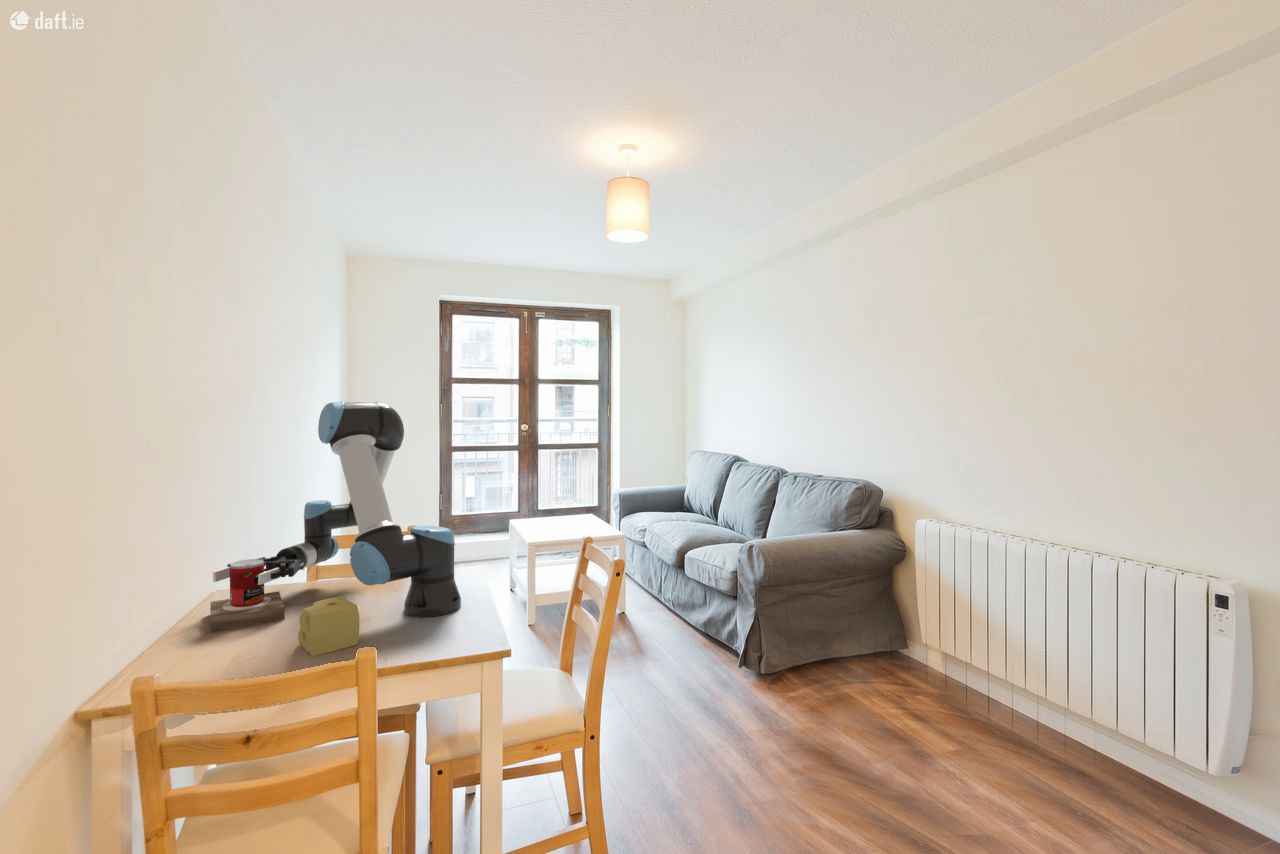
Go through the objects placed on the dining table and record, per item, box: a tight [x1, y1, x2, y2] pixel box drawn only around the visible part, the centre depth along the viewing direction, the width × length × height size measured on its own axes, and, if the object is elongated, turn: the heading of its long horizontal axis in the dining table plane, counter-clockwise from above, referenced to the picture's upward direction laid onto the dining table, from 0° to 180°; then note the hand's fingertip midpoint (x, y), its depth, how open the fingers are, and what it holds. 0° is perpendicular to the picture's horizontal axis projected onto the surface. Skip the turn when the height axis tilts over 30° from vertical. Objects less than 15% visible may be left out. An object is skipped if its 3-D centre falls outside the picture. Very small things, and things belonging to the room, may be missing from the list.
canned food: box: [229, 558, 265, 607], centre depth 157 cm, size 8×8×11 cm
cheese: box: [297, 595, 361, 658], centre depth 139 cm, size 10×11×10 cm
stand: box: [209, 591, 286, 633], centre depth 158 cm, size 16×16×4 cm
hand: (236, 578), depth 154 cm, fingers open, 13 cm apart
